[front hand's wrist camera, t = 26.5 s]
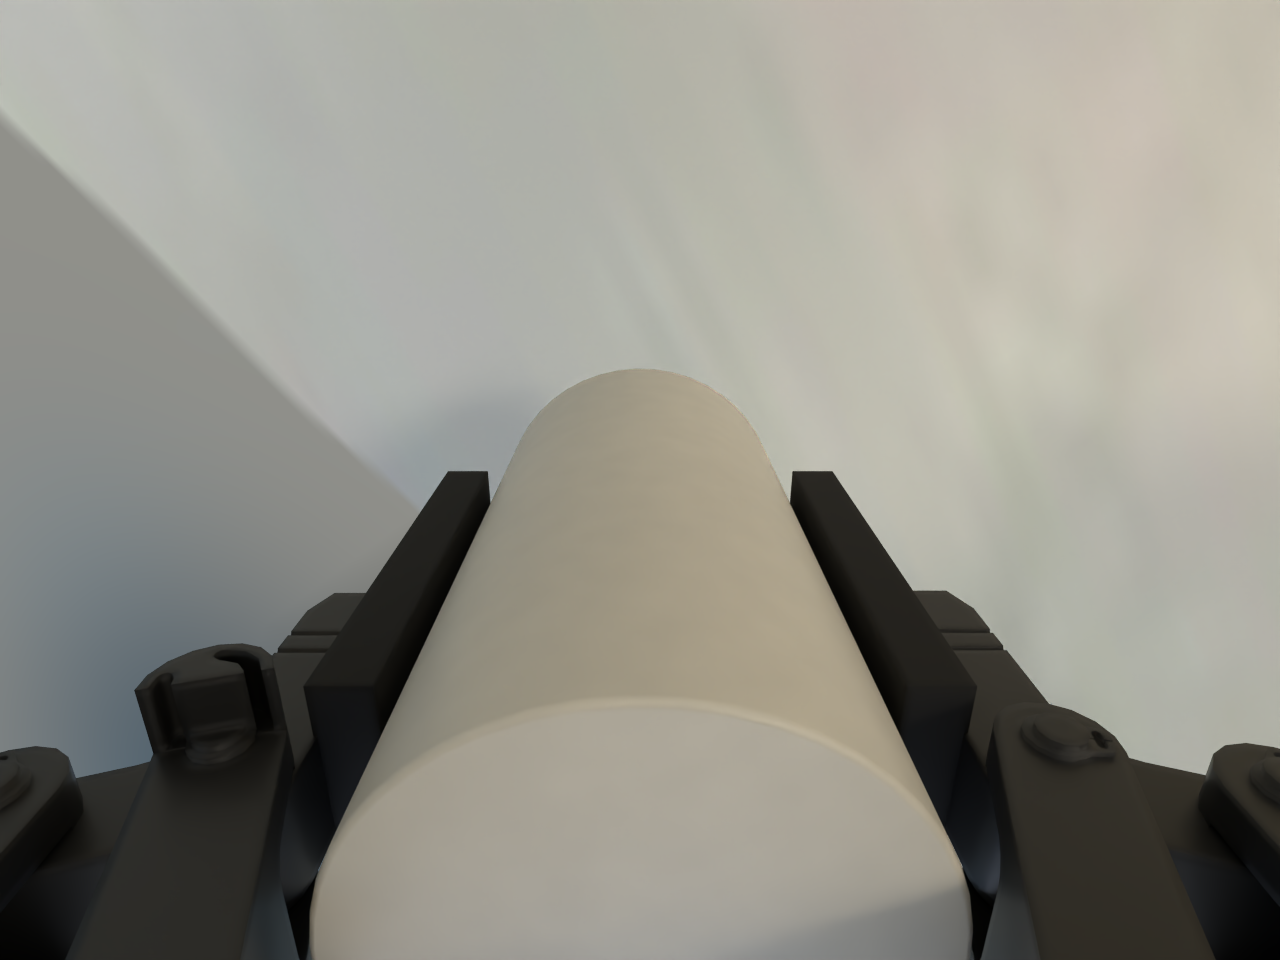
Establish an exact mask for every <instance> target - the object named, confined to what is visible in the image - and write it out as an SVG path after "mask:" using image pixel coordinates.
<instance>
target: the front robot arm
mask: <svg viewBox="0 0 1280 960" xmlns="http://www.w3.org/2000/svg"><path fill="white" fill-rule="evenodd" d="M790 505H791V507H792V509H793V511H794V513H795V515H796V517H797V519H798V521H799V524H800V526H801V528H802V530H803V532H804V534H805V536H806V538H807V540H808V543H809V545H810V547H811V549H812V551H813V553H814V555H815V557H816V559H817V561H818V564H819V566H820V568H821V570H822V572H823V574H824V576H825V578H826V580H827V583H828V585H829V587H830V589H831V591H832V593H833V595H834V597H835V599H836V602H837V604H838V606H839V608H840V610H841V612H842V614H843V616H844V618H845V620H846V623H847V625H848V627H849V629H850V631H851V633H852V635H853V637H854V639H855V642H856V644H857V646H858V648H859V650H860V652H861V654H862V656H863V658H864V661H865V663H866V665H867V667H868V669H869V671H870V673H871V675H872V677H873V679H874V682H875V684H876V686H877V688H878V690H879V692H880V694H881V696H882V698H883V701H884V703H885V705H886V707H887V709H888V711H889V713H890V715H891V717H892V720H893V722H894V724H895V726H896V728H897V730H898V732H899V734H900V736H901V739H902V741H903V743H904V745H905V747H906V749H907V751H908V753H909V755H910V757H911V760H912V762H913V764H914V766H915V768H916V770H917V772H918V774H919V776H920V779H921V781H922V783H923V785H924V787H925V789H926V791H927V793H928V795H929V798H930V800H931V802H932V804H933V806H934V808H935V810H936V812H937V814H938V816H939V819H940V821H941V823H942V825H943V827H944V829H945V831H946V833H947V835H948V837H949V839H950V841H951V843H952V845H953V847H954V849H955V851H956V854H957V856H958V858H959V860H960V862H961V864H962V866H963V867H962V869H963V873H964V876H965V880H966V883H967V886H968V890H969V893H970V901H971V911H972V922H973V936H972V947H971V957H970V960H1280V749H1278V748H1274V747H1269V746H1262V745H1255V744H1249V743H1243V744H1234V745H1225V746H1224V747H1222V748H1221V749H1220V750H1218V751H1217V752H1215V753H1214V754H1213V757H1212V759H1211V762H1210V765H1209V768H1208V771H1207V773H1206V775H1201V774H1197V773H1192V772H1187V771H1183V770H1178V769H1173V768H1169V767H1164V766H1159V765H1155V764H1150V763H1145V762H1142V761H1138V760H1135V759H1131V758H1129V757H1128V755H1127V753H1126V751H1125V750H1124V748H1123V747H1122V746H1121V744H1120V743H1119V742H1118V740H1117V739H1116V737H1115V736H1114V735H1112V734H1111V733H1110V732H1108V731H1107V730H1106V729H1104V728H1103V727H1102V726H1100V725H1099V724H1098V723H1097V722H1095V721H1093V720H1091V719H1089V718H1087V717H1085V716H1083V715H1081V714H1079V713H1077V712H1074V711H1072V710H1069V709H1066V708H1062V707H1058V706H1055V705H1051V704H1049V703H1048V702H1047V701H1046V699H1045V698H1044V697H1043V696H1042V694H1041V693H1040V692H1039V691H1038V689H1037V688H1036V687H1035V686H1034V684H1033V683H1032V682H1031V681H1030V679H1029V678H1028V677H1027V675H1026V674H1025V673H1024V672H1023V670H1022V669H1021V668H1020V667H1019V665H1018V664H1017V663H1016V662H1015V660H1014V659H1013V658H1012V656H1011V655H1010V654H1009V653H1008V651H1007V650H1003V645H1002V644H1001V643H1000V641H999V640H998V639H997V637H996V636H995V635H994V634H993V633H990V629H989V627H988V626H987V625H986V624H985V622H984V621H983V620H982V619H981V617H980V616H979V615H978V613H977V612H976V611H975V610H974V608H972V607H971V606H969V605H967V604H966V603H964V602H963V601H961V600H960V599H958V598H957V597H955V596H954V595H952V594H950V593H949V592H947V591H913V590H912V589H911V587H910V586H909V584H908V583H907V581H906V580H905V578H904V577H903V575H902V574H901V572H900V571H899V569H898V568H897V566H896V565H895V563H894V562H893V561H892V559H891V558H890V556H889V555H888V553H887V552H886V550H885V549H884V547H883V546H882V544H881V543H880V541H879V540H878V538H877V537H876V535H875V534H874V532H873V531H872V529H871V528H870V526H869V525H868V523H867V522H866V521H865V519H864V518H863V516H862V515H861V513H860V512H859V510H858V509H857V507H856V506H855V504H854V503H853V501H852V500H851V498H850V497H849V495H848V494H847V492H846V491H845V489H844V488H843V486H842V485H841V483H840V482H839V480H838V479H837V478H836V476H835V475H834V473H833V472H832V471H793V473H792V486H791V498H790ZM489 506H490V493H489V480H488V471H448V472H447V474H446V475H445V477H444V478H443V480H442V481H441V483H440V484H439V486H438V487H437V489H436V490H435V492H434V493H433V495H432V496H431V497H430V499H429V500H428V502H427V503H426V505H425V506H424V508H423V509H422V511H421V512H420V514H419V515H418V517H417V518H416V520H415V521H414V523H413V524H412V526H411V527H410V529H409V530H408V532H407V533H406V535H405V536H404V538H403V539H402V541H401V542H400V543H399V545H398V546H397V548H396V550H395V551H394V552H393V554H392V555H391V557H390V558H389V560H388V561H387V563H386V564H385V566H384V567H383V569H382V570H381V572H380V573H379V575H378V576H377V578H376V579H375V581H374V582H373V584H372V585H371V586H370V588H369V589H368V591H367V592H366V593H334V594H333V595H331V596H329V597H328V598H326V599H325V600H323V601H322V602H320V603H319V604H317V605H316V606H314V607H313V608H311V609H309V610H308V611H307V612H306V613H305V615H304V616H303V617H302V618H301V620H300V621H299V622H298V623H297V625H296V626H295V627H294V629H293V630H292V631H291V635H289V636H287V638H286V639H285V640H284V641H283V643H282V644H281V645H280V646H279V648H278V653H274V654H273V655H270V654H269V653H268V652H266V651H265V650H264V649H263V648H261V647H257V646H252V645H247V644H224V645H216V646H212V647H208V648H203V649H199V650H195V651H192V652H190V653H187V654H185V655H182V656H180V657H177V658H175V659H173V660H170V661H168V662H166V663H165V664H163V665H162V666H160V667H159V668H157V669H156V670H154V671H153V672H151V673H150V674H148V675H147V676H146V677H145V678H144V680H143V681H142V682H141V683H140V684H139V686H138V687H137V688H136V689H135V690H134V691H135V694H136V697H137V701H138V704H139V707H140V711H141V714H142V717H143V721H144V724H145V727H146V730H147V734H148V737H149V740H150V744H151V747H152V750H153V756H152V759H151V761H150V762H147V763H143V764H140V765H136V766H132V767H127V768H122V769H117V770H113V771H108V772H103V773H99V774H94V775H89V776H85V777H80V778H76V777H75V774H74V772H73V769H72V766H71V763H70V760H69V758H68V757H67V756H66V755H65V754H63V753H62V752H61V751H59V750H58V749H56V748H47V747H38V746H34V747H28V748H21V749H14V750H8V751H5V752H1V753H0V960H312V957H311V952H310V906H311V901H312V896H313V891H314V886H315V880H316V877H317V875H318V869H319V867H320V865H321V863H322V860H323V858H324V856H325V854H326V852H327V850H328V847H329V845H330V843H331V841H332V839H333V837H334V835H335V832H336V830H337V828H338V826H339V824H340V822H341V820H342V818H343V815H344V813H345V811H346V809H347V807H348V805H349V803H350V801H351V798H352V796H353V794H354V792H355V790H356V788H357V786H358V784H359V782H360V779H361V777H362V775H363V773H364V771H365V769H366V767H367V765H368V762H369V760H370V758H371V756H372V754H373V752H374V750H375V748H376V745H377V743H378V741H379V739H380V737H381V735H382V733H383V731H384V728H385V726H386V724H387V722H388V720H389V718H390V716H391V714H392V712H393V709H394V707H395V705H396V703H397V701H398V699H399V697H400V695H401V692H402V690H403V688H404V686H405V684H406V682H407V680H408V678H409V675H410V673H411V671H412V669H413V667H414V665H415V663H416V661H417V659H418V656H419V654H420V652H421V650H422V648H423V646H424V644H425V642H426V639H427V637H428V635H429V633H430V631H431V629H432V627H433V625H434V622H435V620H436V618H437V616H438V614H439V612H440V610H441V608H442V605H443V603H444V601H445V599H446V597H447V595H448V593H449V591H450V589H451V586H452V584H453V582H454V580H455V578H456V576H457V574H458V572H459V569H460V567H461V565H462V563H463V561H464V559H465V557H466V555H467V552H468V550H469V548H470V546H471V544H472V542H473V540H474V538H475V535H476V533H477V531H478V529H479V527H480V525H481V523H482V521H483V519H484V516H485V514H486V512H487V510H488V508H489Z"/></svg>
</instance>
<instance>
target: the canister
mask: <svg viewBox="0 0 1280 960" xmlns="http://www.w3.org/2000/svg"><path fill="white" fill-rule="evenodd" d="M972 936H973V922H972V911H971V901H970V893H969V890H968V886H967V883H966V880H965V876H964V873H963V869H962V866H961V863H960V861H959V859H958V857H957V854H956V852H955V850H954V848H953V846H952V844H951V842H950V840H949V838H948V835H947V833H946V831H945V829H944V827H943V825H942V823H941V821H940V819H939V816H938V814H937V812H936V810H935V808H934V806H933V804H932V802H931V800H930V798H929V795H928V793H927V791H926V789H925V787H924V785H923V783H922V781H921V779H920V776H919V774H918V772H917V770H916V768H915V766H914V764H913V762H912V760H911V757H910V755H909V753H908V751H907V749H906V747H905V745H904V743H903V741H902V739H901V736H900V734H899V732H898V730H897V728H896V726H895V724H894V722H893V720H892V717H891V715H890V713H889V711H888V709H887V707H886V705H885V703H884V701H883V698H882V696H881V694H880V692H879V690H878V688H877V686H876V684H875V682H874V679H873V677H872V675H871V673H870V671H869V669H868V667H867V665H866V663H865V661H864V658H863V656H862V654H861V652H860V650H859V648H858V646H857V644H856V642H855V639H854V637H853V635H852V633H851V631H850V629H849V627H848V625H847V623H846V620H845V618H844V616H843V614H842V612H841V610H840V608H839V606H838V604H837V602H836V599H835V597H834V595H833V593H832V591H831V589H830V587H829V585H828V583H827V580H826V578H825V576H824V574H823V572H822V570H821V568H820V566H819V564H818V561H817V559H816V557H815V555H814V553H813V551H812V549H811V547H810V545H809V543H808V540H807V538H806V536H805V534H804V532H803V530H802V528H801V526H800V524H799V521H798V519H797V517H796V515H795V513H794V511H793V509H792V507H791V505H790V502H789V500H788V498H787V496H786V494H785V492H784V490H783V488H782V486H781V483H780V481H779V479H778V477H777V475H776V473H775V471H774V469H773V467H772V465H771V462H770V460H769V458H768V456H767V454H766V452H765V450H764V448H763V446H762V444H761V442H760V440H759V438H758V436H757V434H756V432H755V430H754V429H753V427H752V426H751V424H750V423H749V422H748V420H747V419H746V417H745V416H744V415H743V414H742V413H741V412H740V411H739V410H738V409H737V408H736V407H735V405H733V404H732V403H731V402H730V401H728V400H727V399H726V398H725V397H724V396H722V395H721V394H720V393H718V392H716V391H715V390H713V389H712V388H710V387H708V386H707V385H705V384H703V383H700V382H698V381H696V380H694V379H692V378H689V377H686V376H683V375H679V374H676V373H673V372H667V371H661V370H655V369H629V370H618V371H614V372H609V373H605V374H600V375H598V376H595V377H592V378H589V379H587V380H584V381H582V382H580V383H578V384H576V385H574V386H572V387H570V388H569V389H567V390H565V391H564V392H563V393H561V394H560V395H558V396H557V397H556V398H554V399H553V400H552V401H551V402H550V403H549V404H548V405H546V406H545V407H544V408H543V409H542V410H541V411H540V412H539V414H538V415H537V416H536V417H535V418H534V420H533V421H532V422H531V423H530V425H529V426H528V428H527V430H526V431H525V433H524V435H523V437H522V438H521V440H520V442H519V444H518V446H517V449H516V451H515V453H514V455H513V457H512V459H511V461H510V463H509V466H508V468H507V470H506V472H505V474H504V476H503V478H502V480H501V482H500V485H499V487H498V489H497V491H496V493H495V495H494V497H493V499H492V502H491V504H490V506H489V508H488V510H487V512H486V514H485V516H484V519H483V521H482V523H481V525H480V527H479V529H478V531H477V533H476V535H475V538H474V540H473V542H472V544H471V546H470V548H469V550H468V552H467V555H466V557H465V559H464V561H463V563H462V565H461V567H460V569H459V572H458V574H457V576H456V578H455V580H454V582H453V584H452V586H451V589H450V591H449V593H448V595H447V597H446V599H445V601H444V603H443V605H442V608H441V610H440V612H439V614H438V616H437V618H436V620H435V622H434V625H433V627H432V629H431V631H430V633H429V635H428V637H427V639H426V642H425V644H424V646H423V648H422V650H421V652H420V654H419V656H418V659H417V661H416V663H415V665H414V667H413V669H412V671H411V673H410V675H409V678H408V680H407V682H406V684H405V686H404V688H403V690H402V692H401V695H400V697H399V699H398V701H397V703H396V705H395V707H394V709H393V712H392V714H391V716H390V718H389V720H388V722H387V724H386V726H385V728H384V731H383V733H382V735H381V737H380V739H379V741H378V743H377V745H376V748H375V750H374V752H373V754H372V756H371V758H370V760H369V762H368V765H367V767H366V769H365V771H364V773H363V775H362V777H361V779H360V782H359V784H358V786H357V788H356V790H355V792H354V794H353V796H352V798H351V801H350V803H349V805H348V807H347V809H346V811H345V813H344V815H343V818H342V820H341V822H340V824H339V826H338V828H337V830H336V832H335V835H334V837H333V839H332V841H331V843H330V845H329V847H328V850H327V852H326V855H325V857H324V860H323V862H322V865H321V867H320V870H319V872H318V875H317V877H316V880H315V886H314V891H313V896H312V901H311V906H310V952H311V957H312V960H970V957H971V947H972Z"/></svg>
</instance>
